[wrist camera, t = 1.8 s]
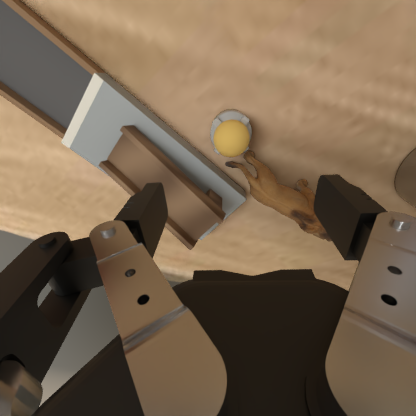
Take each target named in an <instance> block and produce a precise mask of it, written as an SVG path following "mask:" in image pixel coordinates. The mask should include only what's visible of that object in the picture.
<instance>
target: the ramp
mask: <svg viewBox="0 0 416 416" xmlns="http://www.w3.org/2000/svg"><path fill="white" fill-rule="evenodd" d="M120 131H121V132H122V133H123V134H122V135H121V137H120V138H119V140H118V142H117V143H116V145H115V147H114V148H113V150H112V151H111V153H110V155H109V156H108V158H107V160H105V161H101V162H100V164H99V165H98V166H99V167H100V168H102V169H103V170H104V171H105V172H106V173H107V174H108V175H109V176H110V177H111V178H112V179H114V180H115V181H116V182H117V183H118V184H119V185H120V186H121V187H122V188H123V189H124V190H125V191H127V192H128V193H129V194H130V195H131V196H133V195H134V194H136V193H137V192H141V191H142V189H143V188H144V186H145V185H146V184H147V183H156V182H161V183H162V184H163V187H164V192H165V197H166V202H167V207H168V218H167V221H166V224H165V227H166V228H167V229H168V230H169V231H170V232H171V233H172V234H173V235H174V236H175V237H176V238H178V239H179V240H180V241H181V242H182V243H183V244H184V245H185V246H186V247H187V248H188V249H190V250H191V249H192V248H193V247H194V246H195V244H196V242H197V241H198V239H199V238H200V237H201V236H202V235H203V234H204V233H205V232H207V231H208V230H209V229H210V228H211V227H212V226H213V225H214V224H215V223H218V224H220V223H221V222H223V220H224V218H225V215H226V213H225V212H224V211H223V210H222V197H220V196H219V195H218V194H217V193H215V192H214V191H213V190H212V189H209V190H208V192H207V193H206V194H205V193H204V192H203V191H202V190H201V189H200V188H199V187H198V186H197V185H196V184H195V183H194V182H192V181H191V180H190V179H189V178H188V177H187V176H186V175H185V174H184V173H183V172H182V171H181V170H180V169H179V168H178V167H177V166H176V165H175V164H174V163H173V162H172V161H171V160H169V159H168V158H167V157H166V156H165V155H164V154H163V153H162V152H161V151H160V150H159V149H158V148H157V147H156V146H155V145H154V144H153V143H152V142H151V141H150V140H149V139H148V138H147V137H145V136H144V135H143V134H142V133H141V132H140V131H139V130H138V129H137V128H136V127H135V126H134V125H126V126H122V128H121V129H120Z"/></svg>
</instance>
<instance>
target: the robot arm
mask: <svg viewBox="0 0 416 416" xmlns="http://www.w3.org/2000/svg"><path fill="white" fill-rule="evenodd" d="M395 188H396V190H397V193H398V194H399V195H400V196H401V198H403V199H404V200H406V201H407V202H408V203H410V204H411V205H413V206H414V207H416V149H415V150H413V151H412V152H411V153H410V154H409V155H408V156H407V157H406V159H405V160H404V161H403V163H402V164H401V166H400V167H399V169H398V172H397V174H396V179H395ZM314 212H315V215H316V217H317V218H318V220H319V221H320V223H321V224H322V226H323V227H324V229H325V230H326V232H327V233H328V235H329V237H330V238H331V240H332V241H333V243H334V244H335V246H336V247H337V249H338V250H339V252H340V253H341V255H342V257H343V258H344V260H358V261H359V264H358V267H357V269H356V272H355V275H354V277H353V280H352V283H351V285H350V288H349V291H347V290H345V289H343V288H341V287H339V286H337V285H335V284H332V283H329V282H326V281H323V280H319V279H316V278H315V276H314V274H313V272H312V269H299V270H278V271H273V272H269V273H264V274H260V275H255V276H249V275H244V274H238V273H233V272H228V271H223V270H202V271H194V274H193V280H188V281H185V282H183V283H180V284H178V285H176V286H174V287H172V288H171V286H170V285H169V283H168V282H167V280H166V279H165V277H164V275H163V274H162V272H161V271H160V269H159V268H158V266H157V265H156V263H155V262H154V260H153V259H152V258H153V256H154V253H155V250H156V248H157V245H158V242H159V240H160V237H161V235H162V232H163V229H164V227H165V224H166V221H167V218H168V207H167V202H166V197H165V192H164V187H163V184H162V183H161V182H156V183H147V184H146V185H145V186H144V188H143V189H142V191H141V192H137V193H136V194H134V195H133V196H132V197H130V199H129V200H128V201H127V204H125V205H124V207H123V208H122V209H121V211H120V212H119V213H118V215H117V216H116V218H115V219H114V220H113V221H108V222H104V223H102V224H100V225H98V226H96V227H95V228H94V229H93V230H92V231H91V232H90V235H89V237H87V238H83V239H78V240H74V241H71V240H70V238H69V236H68V235H67V233H65V232H54V233H50V234H47V235H44V236H42V237H40V238H38V239H36V240H35V241H33V242H32V243H31V244H30V245H29V246H28V247H27V248H26V249H25V250H24V251H23V252H22V253H21V254H20V255H18V256H17V257H16V258H15V259H14V260H13V261H12V262H11V263H10V264H9V265H8V266H7V267H6V268H5V269H4V270H3V271H2V272H1V273H0V416H416V218H414V217H412V216H410V215H407V214H403V213H398V212H388V211H386V210H385V209H384V208H383V207H382V206H380V205H379V204H378V203H377V202H376V201H375V200H372V198H371V197H370V196H369V195H366V193H365V192H364V191H363V190H362V189H360V188H358V187H356V186H354V185H352V184H349V183H348V182H347V181H345V180H344V179H343V178H342V177H341V176H340V175H338V174H335V175H321V176H320V178H319V180H318V185H317V190H316V195H315V200H314ZM47 283H49V285H50V286H51V288H52V290H51V291H50V293H49V294H48V295H47V297H46V298H45V300H44V301H43V302H42V304H41V305H40V306H39V308H38V305H37V300H38V296H39V294H40V292H41V290H42V289H43V288H44V287H45V286H46V284H47ZM103 285H104V287H105V290H106V293H107V297H108V299H109V303H110V305H111V309H112V312H113V315H114V318H115V321H116V324H117V327H118V330H119V333H120V334H119V335H117V336H116V337H115V338H114V339H113V340H112V341H111V342H110V343H109V344H108V345H107V346H105V347H104V348H103V349H102V350H101V351H100V352H99V353H98V354H97V355H96V356H94V357H93V358H92V359H91V360H90V361H89V362H88V363H87V364H86V365H85V366H84V367H82V368H81V369H80V370H79V371H78V372H77V373H76V374H75V375H74V376H72V377H71V378H70V379H69V380H68V381H67V382H66V383H65V384H64V385H63V386H61V388H59V389H58V390H57V391H56V392H55V393H54V394H53V395H52V396H51V397H49V399H47V400H46V401H45V402H44V403H43V404H42V405H41V406H40V407H39V405H40V403H41V399H42V394H43V389H42V385H41V383H42V381H43V379H44V377H45V375H46V373H47V371H48V370H49V368H50V366H51V364H52V362H53V360H54V358H55V356H56V355H57V353H58V351H59V349H60V347H61V345H62V343H63V342H64V340H65V337H66V336H67V334H68V332H69V330H70V328H71V327H72V325H73V323H74V321H75V319H76V317H77V315H78V313H79V312H80V310H81V308H82V306H83V304H84V302H85V300H86V299H87V297H88V295H89V293H90V291H91V289H92V288H95V287H99V286H103Z"/></svg>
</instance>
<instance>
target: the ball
mask: <svg viewBox="0 0 416 416" xmlns="http://www.w3.org/2000/svg"><path fill="white" fill-rule="evenodd" d="M249 139H250V136H249V131H248V129H247V127H246V126H245V125H244V124H243V123H242V122H240V121H238V120H233V119H231V120H226V121H224V122H222V123H221V124H220V125H219V126H218V127H217V128H216V130H215V133H214V137H213V140H214V145H215V148H216V149H217V151H218V152H219V153H220V154H222V155H224V156H226V157H235V156H238V155H240V154H242V153H243V152H244V151H245V150H246V148H247V146H248V144H249Z"/></svg>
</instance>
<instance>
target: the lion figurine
mask: <svg viewBox="0 0 416 416" xmlns="http://www.w3.org/2000/svg"><path fill="white" fill-rule="evenodd" d="M244 158H245V160H246V161H247V162H248V163H249V164H251V165H253V166H254V167H255V169H256V171H257V178H254V177H253V176H252V175H251V174H250V172H249V171H248V170H247V169H246V168H245V167H244V166H243V165H241V164H238V163H234V162H232V161H231V162H226V163H225V165H226V166H228V167H231V168H240V169H241V170H242V171H243V173H244V174H245V176H246V178H247V179H248V182H249V184H250V193H251V194H252V196H253V197H254V198H255V199H256V200H257V201H259V202H261V203H262V204H264V205H266V206H269V207H272V208H274V209H275V210H277V211H278V212H280V213H281V214H283V215H285V216H287V217H289V218H291V219H293V220H295V221H296V222H297V223H298V224H299V226H300V228H301V229H303V230H304V231H306V232H307V233H311V234H313V235H315V236H317V237H319V238H321V239H327V241H332V240H331V238H330V237H329V235H328V233H327V232H326V230H325V229H324V227H323V226H322V224H321V223H320V221H319V220H318V218H317V217H316V215H315V212H314V200H315V195H314V193H313V192H312V191H311V190H310V189H309V188H307V184H308V182H307V181H306V180H305V179H303V180H300V181H298V182H297V184H296V187H297V189H298V190H299V191H300V192H298V191H296V190H293V189H291V188H289V187H287V186H284V185H280V184H278V183H277V180H276V178H275V176H274V175H273V173H272V172H271V171H270V170H269V169H268V168H267V167H266V166H265V165H264V164H262V163H261V162H259V161H257V160H256V159H255V155H254V153H253V152H251V151H248V152H246V153H245V155H244Z"/></svg>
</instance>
